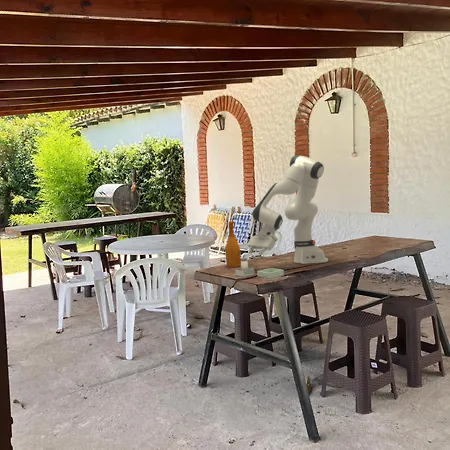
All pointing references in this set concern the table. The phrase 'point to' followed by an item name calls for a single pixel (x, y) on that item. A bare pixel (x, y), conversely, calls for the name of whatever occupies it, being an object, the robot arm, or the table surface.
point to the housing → (245, 272)
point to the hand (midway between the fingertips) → (254, 253)
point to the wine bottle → (232, 249)
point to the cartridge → (244, 264)
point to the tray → (270, 273)
